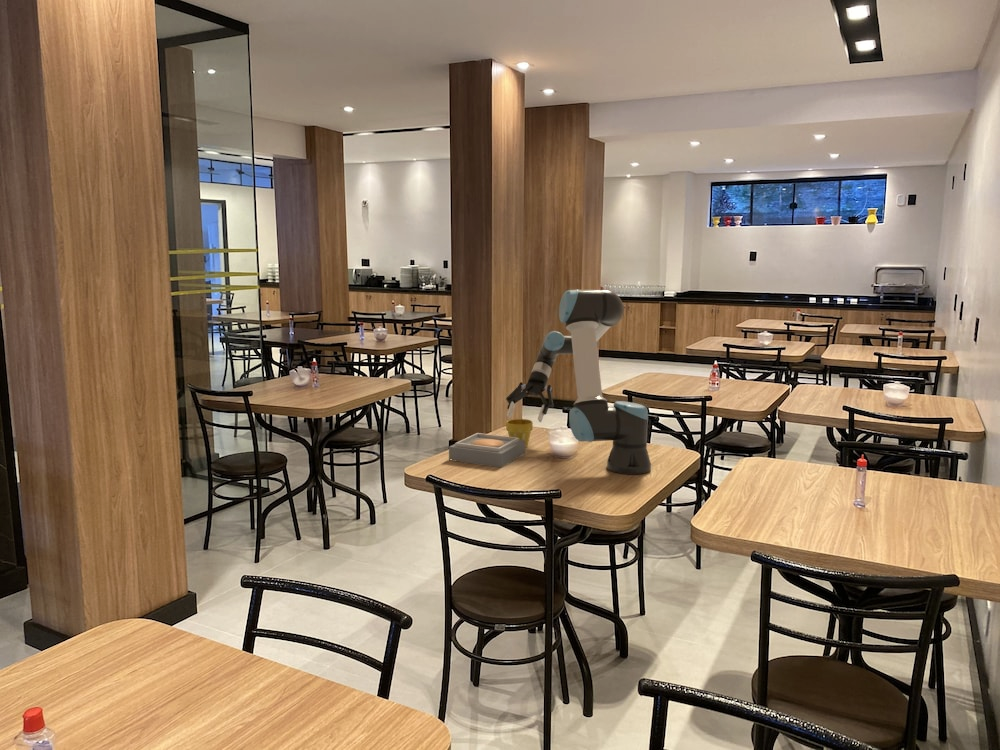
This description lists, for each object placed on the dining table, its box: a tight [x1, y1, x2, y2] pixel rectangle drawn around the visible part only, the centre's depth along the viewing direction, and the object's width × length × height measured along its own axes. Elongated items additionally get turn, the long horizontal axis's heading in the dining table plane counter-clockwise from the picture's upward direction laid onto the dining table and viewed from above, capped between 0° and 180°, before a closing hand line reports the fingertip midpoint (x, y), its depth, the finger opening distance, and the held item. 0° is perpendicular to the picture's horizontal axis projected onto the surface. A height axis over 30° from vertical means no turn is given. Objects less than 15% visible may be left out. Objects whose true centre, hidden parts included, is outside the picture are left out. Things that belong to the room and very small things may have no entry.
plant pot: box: [505, 418, 533, 448], centre depth 284 cm, size 10×10×10 cm
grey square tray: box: [448, 432, 526, 468], centre depth 268 cm, size 21×21×6 cm
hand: (523, 418), depth 288 cm, fingers open, 13 cm apart
